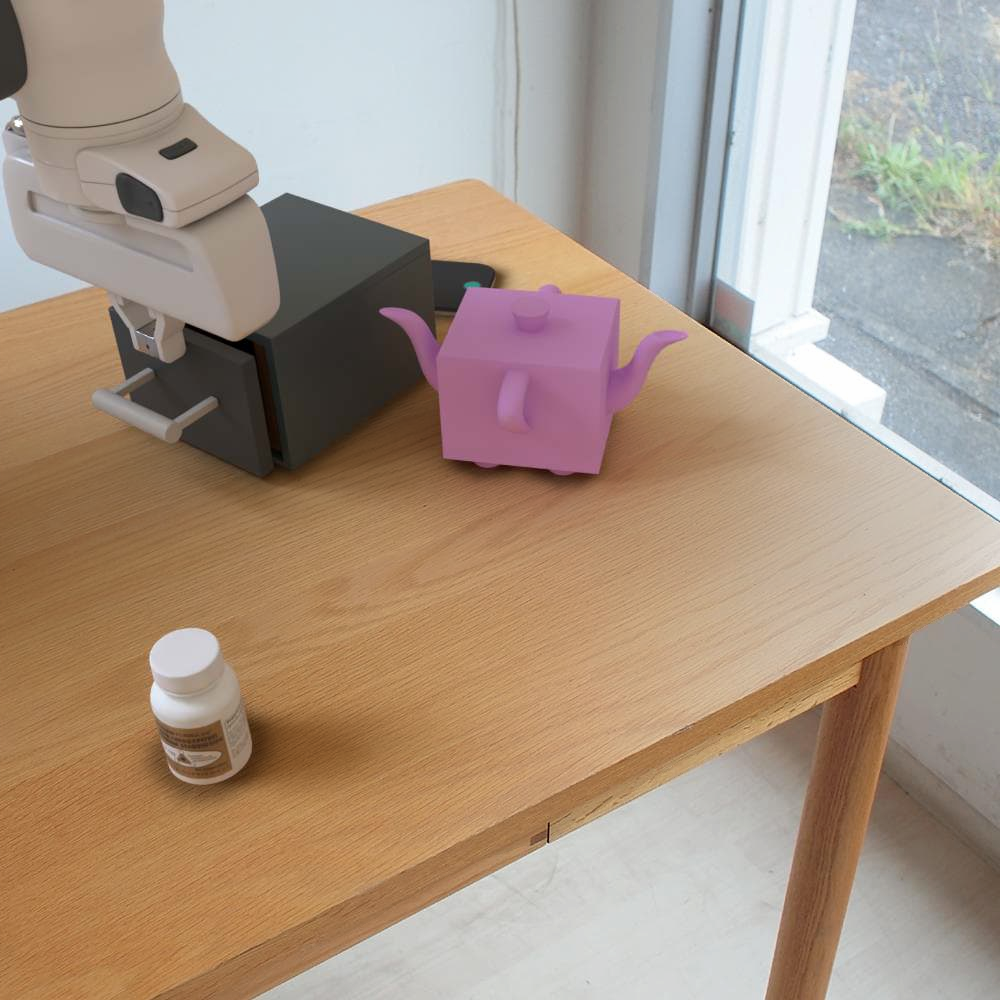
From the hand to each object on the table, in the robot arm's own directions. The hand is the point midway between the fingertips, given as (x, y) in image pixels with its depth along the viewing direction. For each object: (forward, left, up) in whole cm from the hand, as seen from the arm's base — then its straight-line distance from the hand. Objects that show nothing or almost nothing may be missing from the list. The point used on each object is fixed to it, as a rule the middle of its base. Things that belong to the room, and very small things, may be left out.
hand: (161, 352), depth 84 cm
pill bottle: (+20, -17, -9) cm, 28 cm away
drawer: (0, +6, -8) cm, 10 cm away
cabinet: (0, +11, -9) cm, 14 cm away
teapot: (+18, +15, -9) cm, 25 cm away
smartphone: (-3, +26, -9) cm, 28 cm away
